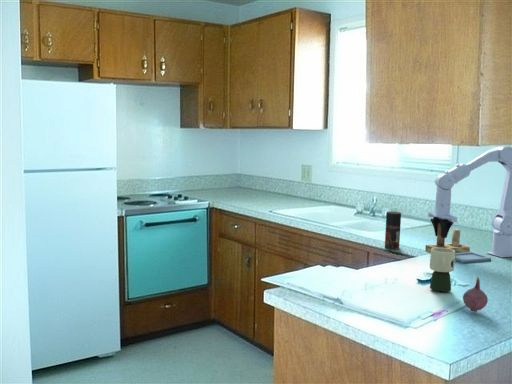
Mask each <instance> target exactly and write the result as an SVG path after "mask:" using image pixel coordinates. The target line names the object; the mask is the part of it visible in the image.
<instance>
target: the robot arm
mask: <svg viewBox="0 0 512 384" xmlns="http://www.w3.org/2000/svg"><path fill="white" fill-rule="evenodd" d="M489 162H494V163H495V162H497V163H499V164H501V166H503V168H504V169H505V170H506V172H505V177H504V182H503V189H502V193H501V194H502V195H501V198H500V202H499V208H498V209H497V211H496V212H495V215H494V217H493V219H492V221H491V225H492V228H493V235H492V247H491V251H487V252H486V254H489V255H493V256H496V257H498V258H499V257H500V258H509V257H511V258H512V146H510V145H509V146H508V145H507V146H504V145H496V146H495V147H493V148H490V149H488V150H487V151H485V152H483V153H482V154H481V155H479V156H477V157H476V158H474V159H473V160H471V161H469V162H467V163H460V164H459V163H456V164H455V166H454V167H453V168H450V169H449V170H445V171H444V173H441V174H439V175H438V176H437V177H436V178H435V180H434V184H435V185H436V191H435V206H434V211H428V214H427V217H429V218H430V222H431V224H432V227H433V231H434V235H435V237H437V230H438V223H440V225H441V237H442V238H445V239H447V237H448V235H449V231H450V230H451V227H452V226H453V224H455V223H457V222H458V217H456V216H455V215H451V200H452V188H453V186H454V185H455V184H457V183H459V182H461V181H462V180H464V179H465V178H467V177H469V176H470V175H471V172H472V171H474V170H475V169H478V168H479V167H482V166H483V165H486V164H487V163H489Z"/></svg>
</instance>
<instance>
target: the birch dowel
mask: <svg viewBox="0 0 512 384" xmlns="http://www.w3.org/2000/svg"><path fill="white" fill-rule="evenodd" d="M460 239H461V230H460V229H457V228H456V229H455V228H453V229H452V234H451V243H452V246H453V247H459V244H460V241H461V240H460Z"/></svg>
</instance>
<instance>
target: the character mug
mask: <svg viewBox="0 0 512 384" xmlns="http://www.w3.org/2000/svg"><path fill="white" fill-rule="evenodd" d="M455 262H456V261H455V250H452V249H448V248H439V247H436V248H431V253H430V258H429V269H430V270H431V271H433V272H432V274H431V279H430V284H429V289H431V290H432V291H433V290H434V291H438V292H439V293H442V292H445V293H447V292H448V293H449V292H451V291H452V282H451V274H450V272H454V271H455V264H456V263H455Z"/></svg>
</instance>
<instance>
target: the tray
mask: <svg viewBox="0 0 512 384" xmlns="http://www.w3.org/2000/svg"><path fill="white" fill-rule="evenodd" d="M491 261H492V257H491V256H488V255H483V254H480V253H477V252H473V251H470V252H464V253H455V262H458V263H461V264H468V263H480V262H491Z"/></svg>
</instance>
